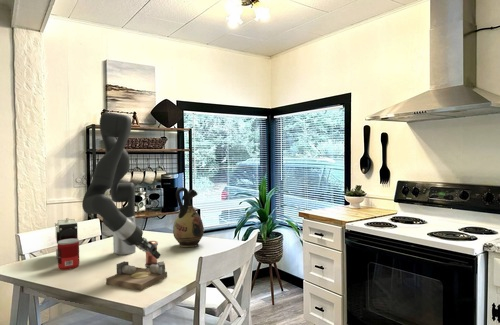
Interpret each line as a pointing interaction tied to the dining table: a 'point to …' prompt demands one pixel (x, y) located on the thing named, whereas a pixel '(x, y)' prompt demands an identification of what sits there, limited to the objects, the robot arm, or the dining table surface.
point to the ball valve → (66, 230)
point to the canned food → (68, 254)
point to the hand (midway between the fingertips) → (155, 255)
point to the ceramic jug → (187, 221)
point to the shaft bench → (137, 276)
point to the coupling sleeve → (151, 257)
